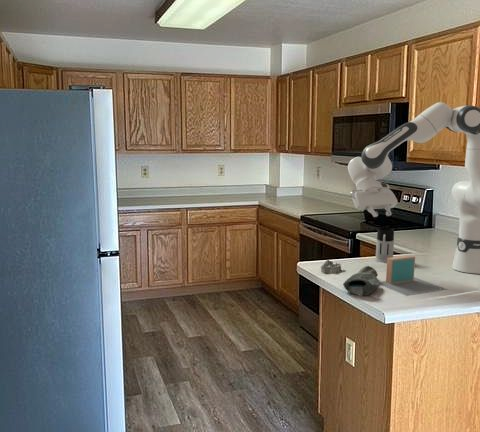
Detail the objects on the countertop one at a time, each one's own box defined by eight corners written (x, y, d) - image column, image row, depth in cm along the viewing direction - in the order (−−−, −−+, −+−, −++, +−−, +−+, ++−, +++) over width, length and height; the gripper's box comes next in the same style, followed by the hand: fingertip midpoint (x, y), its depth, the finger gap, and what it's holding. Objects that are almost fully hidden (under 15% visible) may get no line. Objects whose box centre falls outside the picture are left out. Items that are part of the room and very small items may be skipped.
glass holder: (394, 258, 242) (396, 228, 240) (392, 266, 229) (394, 233, 226) (375, 257, 245) (377, 226, 243) (372, 264, 232) (374, 232, 229)
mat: (413, 278, 210) (413, 276, 210) (447, 290, 194) (447, 289, 194) (374, 283, 202) (374, 282, 202) (406, 297, 186) (406, 295, 185)
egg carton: (327, 267, 227) (328, 258, 226) (343, 270, 223) (343, 261, 222) (318, 272, 218) (318, 263, 217) (334, 275, 214) (334, 266, 214)
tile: (409, 279, 207) (410, 255, 205) (414, 280, 204) (415, 256, 202) (385, 282, 202) (387, 257, 200) (390, 284, 199) (391, 259, 198)
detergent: (373, 299, 183) (388, 280, 205) (373, 280, 182) (387, 263, 204) (338, 296, 189) (356, 278, 211) (337, 277, 188) (355, 261, 210)
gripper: (352, 185, 211) (366, 212, 203) (391, 184, 219) (405, 209, 212) (345, 195, 215) (358, 221, 208) (383, 193, 224) (397, 218, 217)
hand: (382, 215), depth 210 cm, fingers open, 5 cm apart
